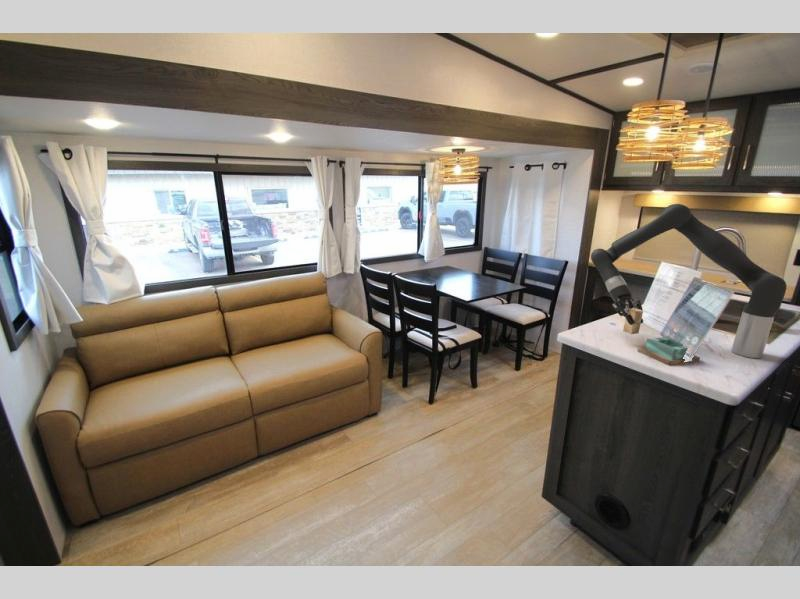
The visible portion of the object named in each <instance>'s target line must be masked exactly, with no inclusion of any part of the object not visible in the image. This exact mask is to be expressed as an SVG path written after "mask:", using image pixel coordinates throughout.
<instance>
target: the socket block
mask: <svg viewBox="0 0 800 599" xmlns="http://www.w3.org/2000/svg"><path fill="white" fill-rule="evenodd" d="M680 342H681V341H680ZM680 342H679V340H677V339H675V338H671V337H669V336H666V337H664V336H663V337H655V338H648V339H646V343H645V346H644V347H638V349H637V352H638V353H641V354H643V355H644V356H647V357H649V358H651V359H654V360H655V361H658V362H660V363H662V364H664V365H667V366H672V365H680V363H681V364H684V363H683V362H684V361H685V359H683V357H684V355H685V353H686V351H687V349H688V348H687V347H686V346H683V344H682V343H683V342H682V343H680ZM693 355H694V357H693V358H692V361H695V362H700V359H701V357H700V356H698V355H695V354H693Z"/></svg>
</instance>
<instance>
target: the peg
mask: <svg viewBox="0 0 800 599" xmlns="http://www.w3.org/2000/svg"><path fill="white" fill-rule="evenodd" d="M642 310H643V309H642ZM642 310H639V309H635V308H634V307H633V308H630V309H629V312H630V315H631V316H632V318H633V320H634V321H635V323H634V324H632V325H630V324H629V323H628V321H627V319H626V318H625V317H624V318H625V319H624V324H623V325H624V326H623V330H622V332H625V333H627V334H629V335H635V334H639V333H640V328H641V324H642V323H641V319H643V314H644V310H643V311H642Z"/></svg>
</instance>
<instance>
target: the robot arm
mask: <svg viewBox="0 0 800 599" xmlns="http://www.w3.org/2000/svg"><path fill="white" fill-rule="evenodd" d="M671 230H675V231H676V232H678V233H680V234H682V236H685V237H686V238H687V240H689V242H691V244H693V246H694V247H695V248H697V249H698V250H699V251H700V252H701V253H702V254H703V255H704V256H706V257H707V258H708V259H709V260H711V262H713V263H715V264H716V265H718V266H719V267H721V269H724V270H726V271H728V272H729V273H731V274H732V275H734V276H735V277H736V278H738V279H739V280H740V282H742V283H743V284H744V285H745V286H746V287H747V289H748V290H749V291H750V292H751V294H750V297H749V299H748V302H747V303H746V304H745V305H744V306H743V310H742V311H741V312H742V313H741V316H740V320H739V322H738V323H739V324H738V326H737V330H736V333H735V337H734V339H733V343H732V346H731V349H730V350H731V352H732V353H734V354H736V355H739V356H742V357H746V358H751V359H761V358H762V357H763V354H764V351H765V348H766V345H767V342H768V339H769V337H770V336H769V335H770V332H771V328H772V326H773V322H774V319H775V316H776V313H777V312H778V311H779V310H780V309H781V307H782V303H783V301H784V298H785V295H786V292H787V287H788V286H787V283H786V281H785V280H784V279H783V278H782V277H780V276H778V275H775V274H773V273H771V272H769V271H768V270H766V269H764V268H763V267H761V266H759V265H757V264H756V263H755V262H753V261H752V260H751V259H750V258H749V256H747V254H746V253H745V252H744V251H743V250H742V249H741V248H740V247H739V246H738V245H737V244H736V243H734V241H732V240H731V239H729V238H728V237H727V236H725V235H724V234H722V233H720V232H718V231H717V230H715V229H713V228H711V227H710V226H708V225H706V224H705V223H703V222H702V221H700V220H699V219H698V217H696V216H695V215H694V214H693V213H692V212H691V209H690V208H689V207H688V206H686V205H684V204H681V203H672V204H670V205H668V206H666V207H665V208H664V209H663V210H662V212H661V214H660V215H659V216H657V217H656V218H655V219H653V220H652V221H650V222H649V223H647V224H645V225H643V226H641V227H639V228H637V229H634V230H633V231H630V232H629V233H627V234H624V235H622V236H621V237H620V238H617V239H616V240H615V241H613V242H612V243H611V246H610V247H609V248H608V249H607V250H605V249H603V248H596V249H593V251H592V252H591V254H590V258H591V262H592V264H593V265H594V267H595V268H596V269H597V271H598V272H599V275H600V277H601V278H602V280H603V282H604V284H605V286H606V289H607V292H608V293H609V295H610V297H611V299H612V300H613V302H614V303H612V304H611V307H612V308H613V309H614V310H615V312H616V313H617V314H618V316H620V317H624V318H626V319H627V321H628V323H629V324H630V325H632V324H634V323H635V321H634V320H633V318H632V316H631V315H630V312H629V309H630V308H635V309H639V310H642V311H643V312H644V310H643V306H642V303H641V300H639V299H638V300H634V298H633V297H632V294H633V293H632V291H631V289H630V288H629V286H628V284H627V282H626V281H625V279H624V278H623V276H622V274H621V272H620V271H619V270H618V267H616V266H615V265H614V263H615V262H616V261H617V260H618V259H620V258H621V257H622V256H623V255H625V254H627V253H628V252H631V251H632V250H634V249H637V247H640V246H641V245H643V244H645V243H646V242H648V241H649V240H651V239H653V238H655V237H658V236H659V235H661V234H664V233H666V232H668V231H671ZM641 324H644V319H643V318H642V319H641Z"/></svg>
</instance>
